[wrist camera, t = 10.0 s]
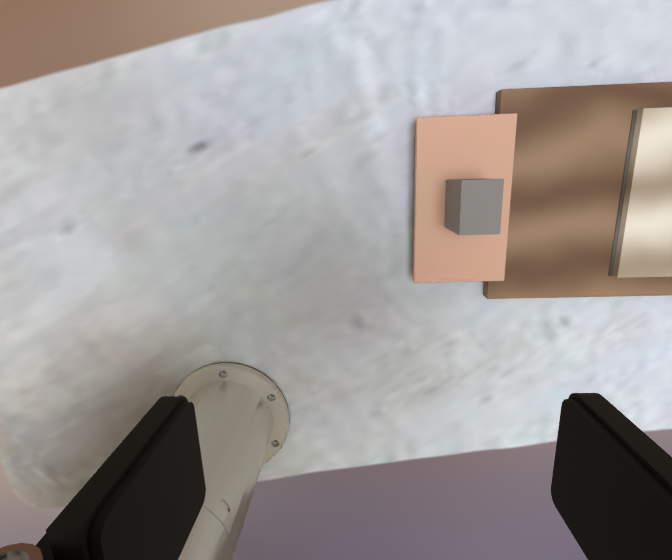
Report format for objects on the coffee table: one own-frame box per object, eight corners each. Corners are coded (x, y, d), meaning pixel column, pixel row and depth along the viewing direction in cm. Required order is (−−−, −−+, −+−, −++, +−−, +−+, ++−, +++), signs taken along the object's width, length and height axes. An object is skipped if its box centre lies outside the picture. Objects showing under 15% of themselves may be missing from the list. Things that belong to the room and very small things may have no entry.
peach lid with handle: (500, 278, 36) (528, 297, 30) (413, 280, 36) (424, 299, 31) (513, 114, 32) (547, 102, 27) (415, 118, 33) (428, 107, 27)
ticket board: (743, 289, 37) (765, 296, 35) (483, 295, 38) (490, 301, 36) (794, 79, 32) (822, 73, 30) (496, 92, 33) (505, 87, 31)
